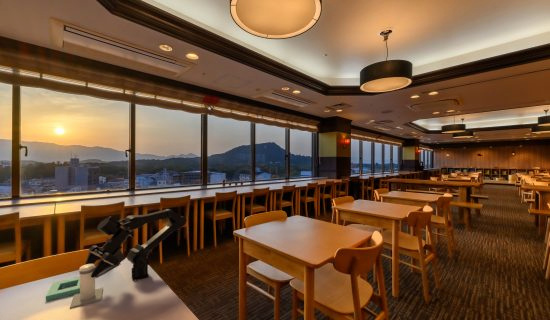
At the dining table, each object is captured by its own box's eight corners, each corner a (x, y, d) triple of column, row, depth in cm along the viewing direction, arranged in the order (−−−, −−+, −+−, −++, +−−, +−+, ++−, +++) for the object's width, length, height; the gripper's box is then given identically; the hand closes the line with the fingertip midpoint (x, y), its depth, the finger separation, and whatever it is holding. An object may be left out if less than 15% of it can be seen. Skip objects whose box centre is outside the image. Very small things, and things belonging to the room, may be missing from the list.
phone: (121, 262, 131) (97, 275, 116) (121, 264, 131) (97, 278, 116) (108, 261, 132) (83, 274, 117) (108, 263, 132) (83, 276, 117)
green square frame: (87, 279, 114) (87, 274, 114) (84, 291, 104) (84, 287, 104) (53, 286, 107) (53, 282, 107) (45, 301, 97) (45, 296, 97)
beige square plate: (102, 288, 106) (102, 287, 106) (101, 300, 98) (101, 298, 98) (74, 295, 100) (74, 294, 100) (69, 308, 92) (69, 307, 92)
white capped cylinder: (91, 291, 102) (90, 262, 102) (97, 294, 100) (97, 265, 100) (77, 298, 98) (76, 267, 98) (84, 301, 96) (83, 270, 95)
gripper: (139, 253, 107) (112, 288, 99) (121, 244, 118) (95, 275, 109) (120, 241, 101) (89, 277, 92) (102, 233, 111) (73, 265, 103)
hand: (87, 274), depth 99 cm, fingers open, 9 cm apart
